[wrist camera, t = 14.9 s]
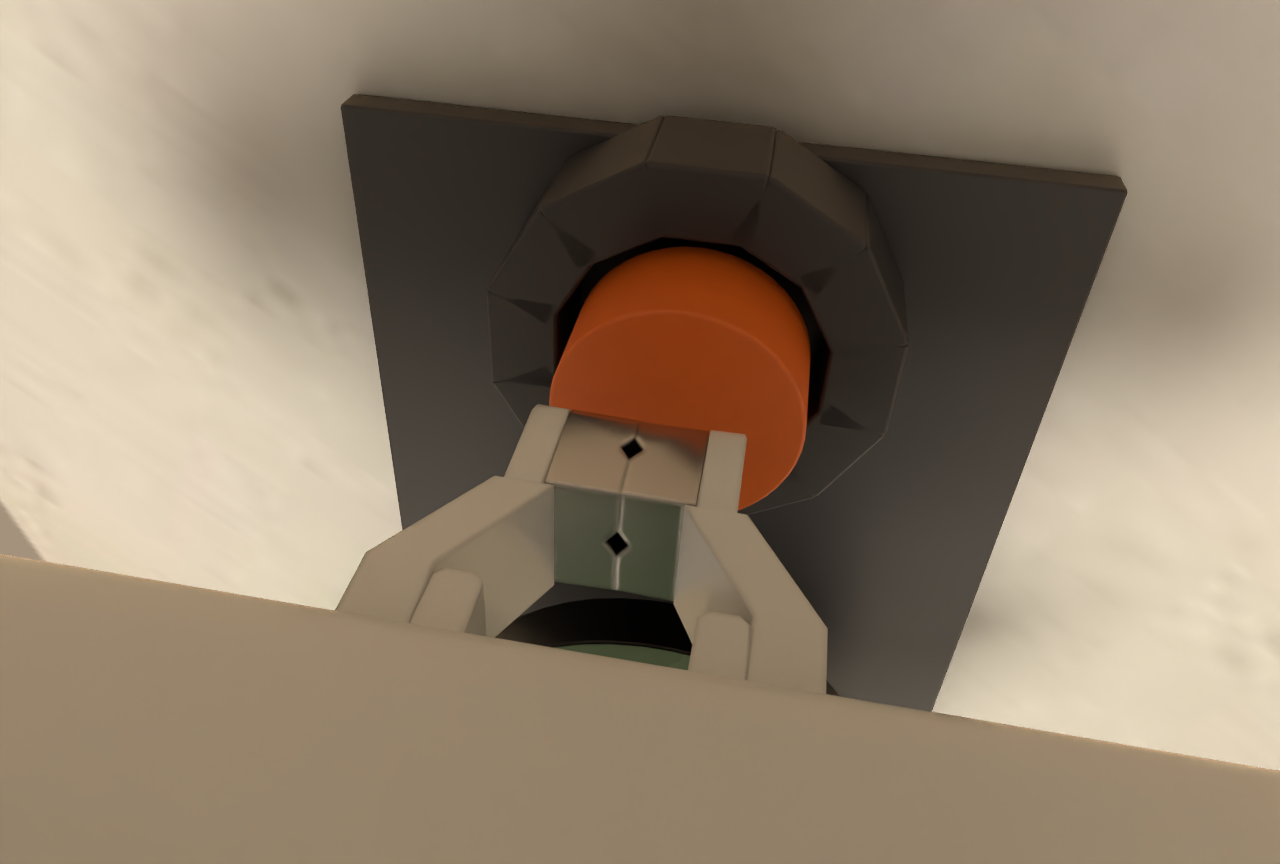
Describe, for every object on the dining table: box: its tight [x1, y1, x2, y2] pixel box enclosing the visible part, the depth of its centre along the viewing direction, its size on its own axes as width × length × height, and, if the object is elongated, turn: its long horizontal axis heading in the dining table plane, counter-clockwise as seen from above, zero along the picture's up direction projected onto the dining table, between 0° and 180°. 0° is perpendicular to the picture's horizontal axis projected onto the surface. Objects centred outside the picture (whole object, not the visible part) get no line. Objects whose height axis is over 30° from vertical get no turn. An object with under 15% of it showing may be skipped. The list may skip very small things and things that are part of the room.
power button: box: [549, 246, 811, 510], centre depth 16 cm, size 4×4×2 cm
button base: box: [341, 94, 1127, 712], centre depth 21 cm, size 18×13×3 cm
